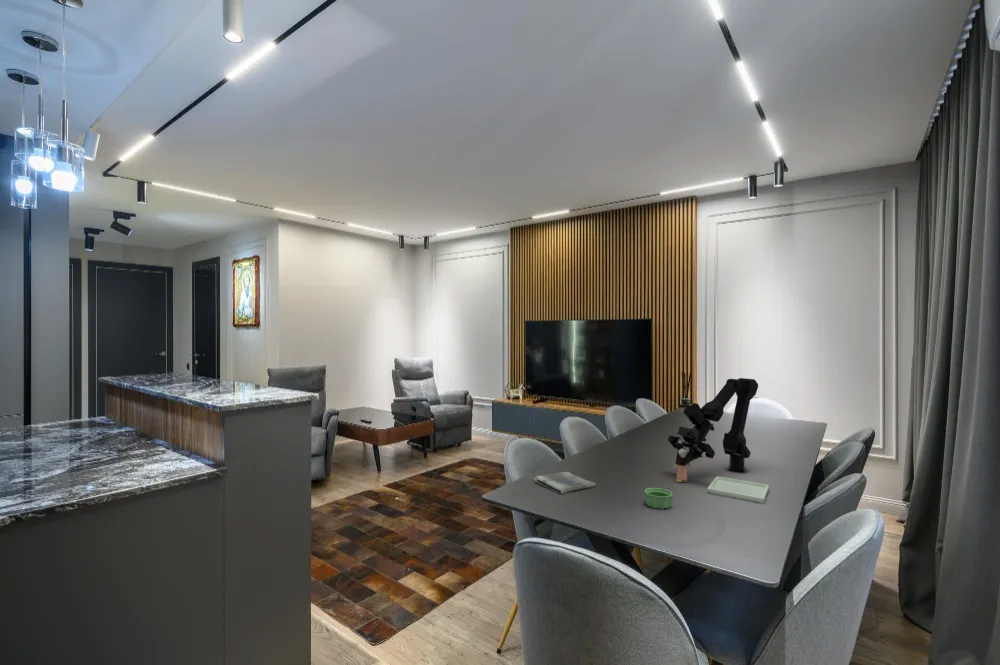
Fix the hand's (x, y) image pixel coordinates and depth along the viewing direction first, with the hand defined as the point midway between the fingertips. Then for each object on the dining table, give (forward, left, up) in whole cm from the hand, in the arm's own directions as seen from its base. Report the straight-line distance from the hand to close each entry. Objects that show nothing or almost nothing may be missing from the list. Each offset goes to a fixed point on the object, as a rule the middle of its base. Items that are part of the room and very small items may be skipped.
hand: (679, 463), depth 187 cm
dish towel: (+29, -35, -8) cm, 46 cm away
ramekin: (+30, +1, -8) cm, 31 cm away
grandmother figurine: (-1, +1, -7) cm, 7 cm away
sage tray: (-1, +21, -7) cm, 22 cm away
